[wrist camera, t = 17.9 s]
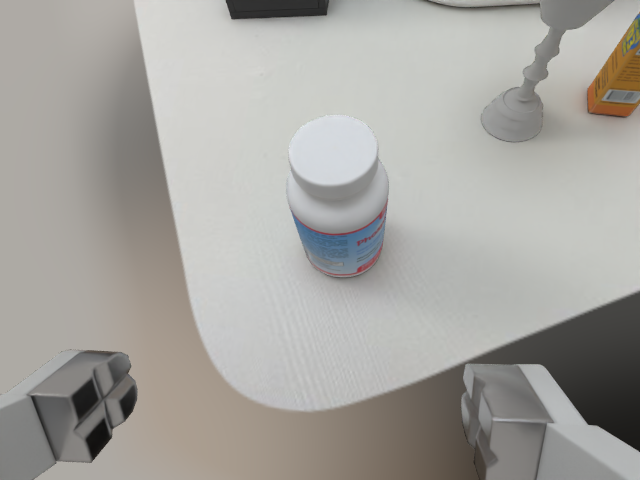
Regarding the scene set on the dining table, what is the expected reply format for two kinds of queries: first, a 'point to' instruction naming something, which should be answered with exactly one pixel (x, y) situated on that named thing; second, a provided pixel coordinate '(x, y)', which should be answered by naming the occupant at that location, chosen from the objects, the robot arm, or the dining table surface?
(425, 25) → the dining table surface
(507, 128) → the chalice
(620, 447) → the robot arm
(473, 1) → the housing
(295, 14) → the box
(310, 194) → the pill bottle
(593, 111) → the supplement box
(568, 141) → the dining table surface
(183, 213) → the dining table surface
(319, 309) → the dining table surface
